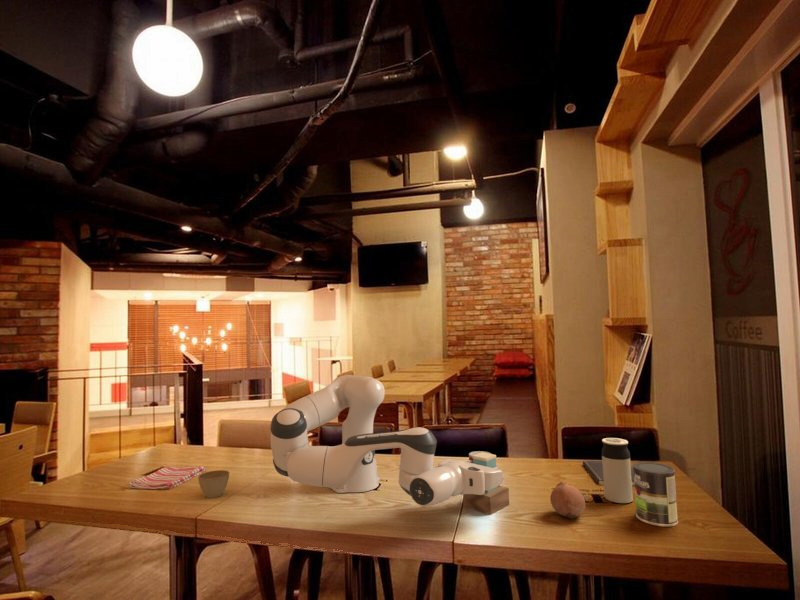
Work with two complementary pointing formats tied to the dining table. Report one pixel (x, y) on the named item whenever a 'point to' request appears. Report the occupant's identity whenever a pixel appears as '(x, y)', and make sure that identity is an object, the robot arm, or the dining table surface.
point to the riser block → (488, 500)
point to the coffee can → (655, 494)
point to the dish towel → (166, 478)
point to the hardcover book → (600, 471)
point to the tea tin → (485, 462)
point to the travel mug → (617, 470)
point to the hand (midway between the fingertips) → (484, 465)
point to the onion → (567, 500)
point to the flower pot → (213, 482)
